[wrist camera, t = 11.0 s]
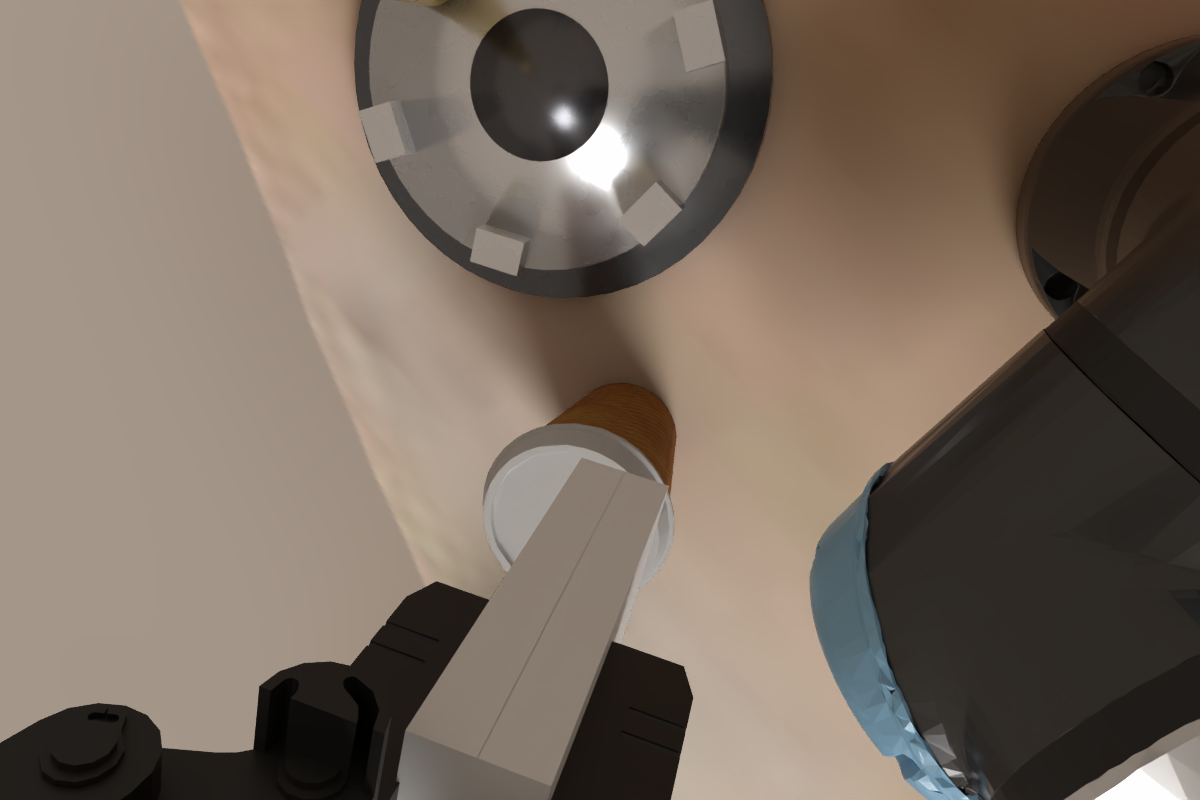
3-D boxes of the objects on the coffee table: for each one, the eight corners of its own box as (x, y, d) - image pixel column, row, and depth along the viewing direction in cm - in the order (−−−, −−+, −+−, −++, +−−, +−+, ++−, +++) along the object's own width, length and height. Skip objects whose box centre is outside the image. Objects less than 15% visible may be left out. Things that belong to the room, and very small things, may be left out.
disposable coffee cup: (540, 486, 55) (467, 590, 44) (555, 342, 51) (480, 415, 40) (690, 520, 53) (653, 637, 42) (716, 373, 49) (684, 459, 38)
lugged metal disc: (809, 86, 42) (801, 92, 31) (557, 330, 49) (479, 404, 38) (541, -212, 40) (433, -318, 29) (323, 85, 47) (171, 89, 36)
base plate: (835, -103, 40) (835, -111, 38) (704, 339, 49) (700, 348, 47) (396, -201, 43) (378, -212, 42) (346, 231, 52) (330, 237, 50)
